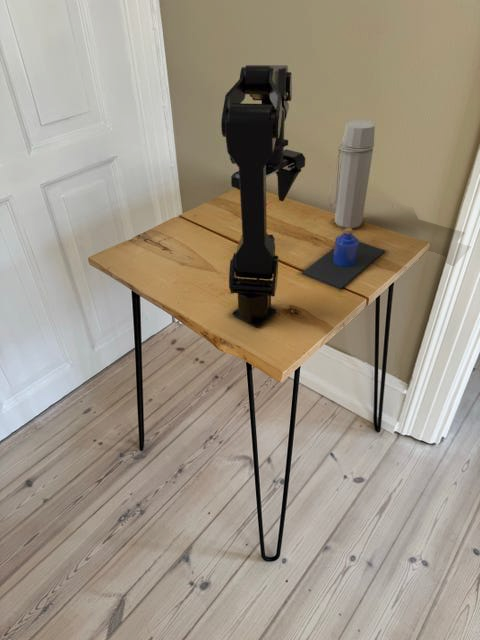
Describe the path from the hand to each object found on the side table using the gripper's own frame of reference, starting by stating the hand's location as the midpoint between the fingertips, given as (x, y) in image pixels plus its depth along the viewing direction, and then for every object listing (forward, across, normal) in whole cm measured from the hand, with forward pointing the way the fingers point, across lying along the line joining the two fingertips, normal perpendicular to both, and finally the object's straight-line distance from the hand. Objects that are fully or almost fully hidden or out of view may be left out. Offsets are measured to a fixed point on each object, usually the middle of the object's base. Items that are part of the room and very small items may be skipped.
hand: (268, 207), depth 103 cm
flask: (+12, -8, +16) cm, 21 cm away
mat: (+12, -8, +16) cm, 22 cm away
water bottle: (+12, -25, +6) cm, 28 cm away
